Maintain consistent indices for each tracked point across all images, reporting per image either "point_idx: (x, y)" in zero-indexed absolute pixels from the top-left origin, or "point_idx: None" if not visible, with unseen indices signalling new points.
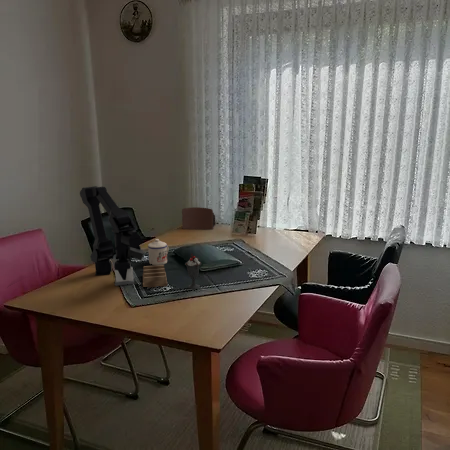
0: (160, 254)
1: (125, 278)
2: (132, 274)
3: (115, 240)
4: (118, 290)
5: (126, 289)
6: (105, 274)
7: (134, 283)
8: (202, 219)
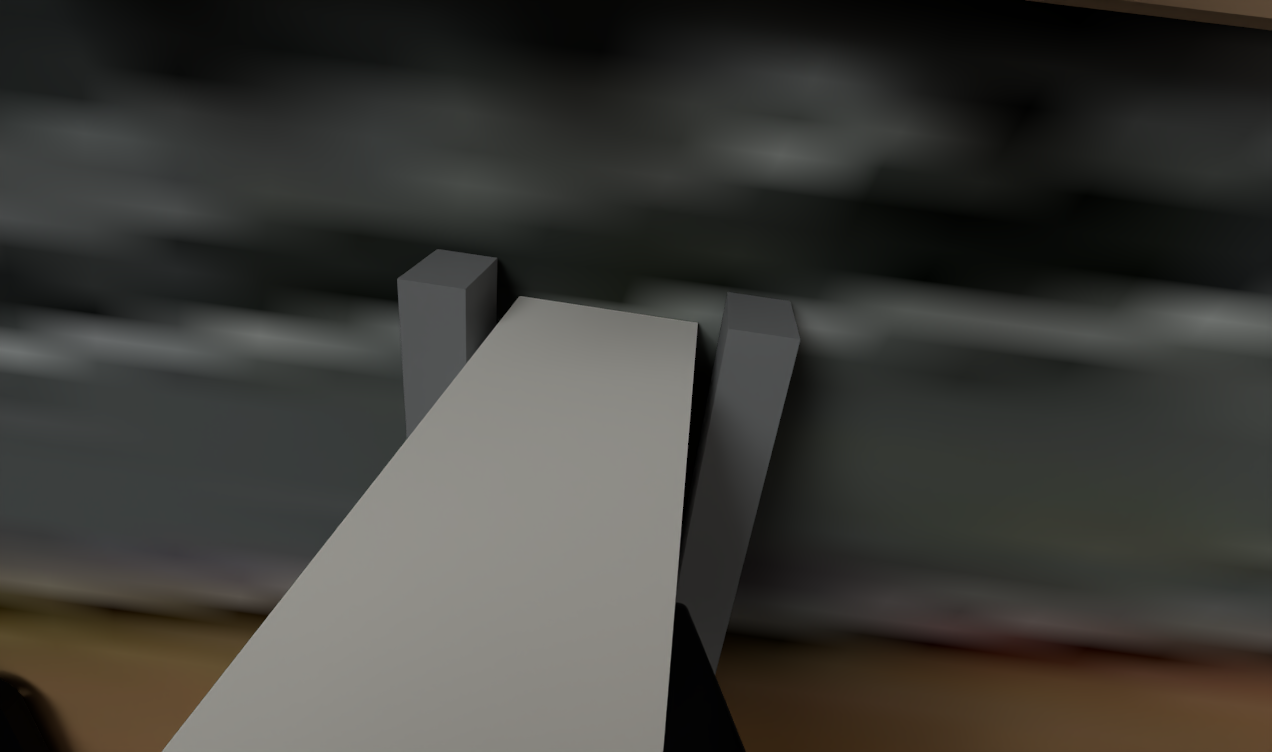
0: None
1: (700, 652)
2: (680, 524)
3: None
4: (1046, 699)
5: (1107, 554)
6: (42, 743)
7: (785, 305)
8: None
